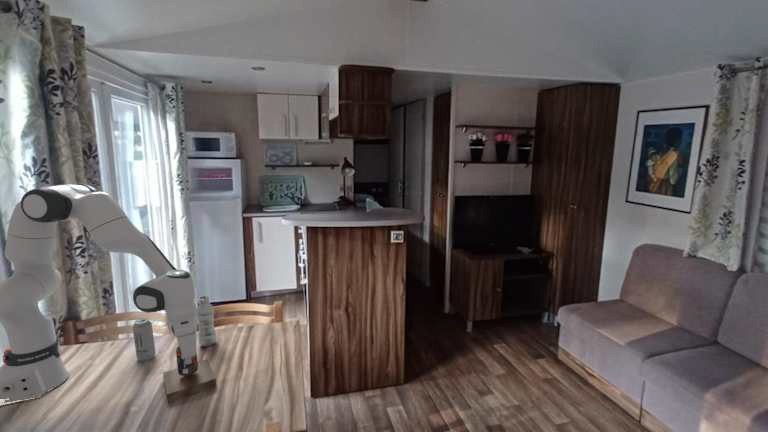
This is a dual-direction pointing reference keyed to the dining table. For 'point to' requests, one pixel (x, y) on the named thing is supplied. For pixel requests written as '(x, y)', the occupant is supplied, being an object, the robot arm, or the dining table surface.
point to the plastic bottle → (206, 322)
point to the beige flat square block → (188, 382)
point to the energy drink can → (144, 339)
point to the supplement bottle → (186, 368)
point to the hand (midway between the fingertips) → (186, 357)
